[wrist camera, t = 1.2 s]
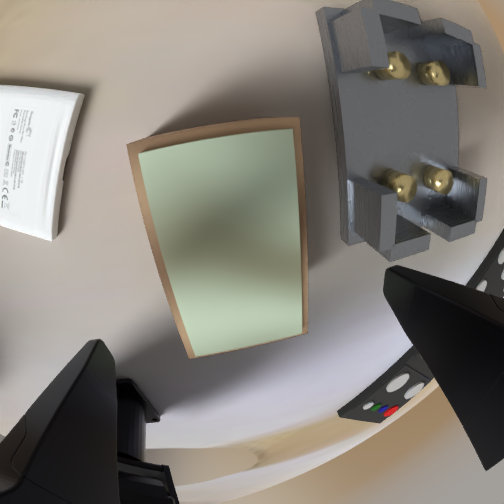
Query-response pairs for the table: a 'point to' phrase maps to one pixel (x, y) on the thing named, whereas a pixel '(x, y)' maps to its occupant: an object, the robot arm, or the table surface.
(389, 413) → the remote control
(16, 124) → the external hard drive
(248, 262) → the brown and green block
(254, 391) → the table surface
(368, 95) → the chassis
